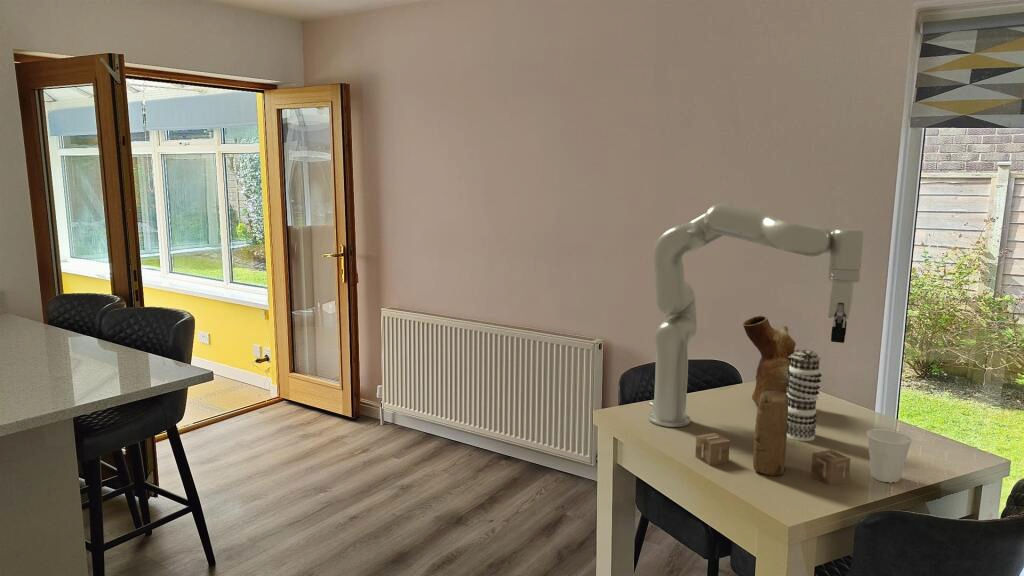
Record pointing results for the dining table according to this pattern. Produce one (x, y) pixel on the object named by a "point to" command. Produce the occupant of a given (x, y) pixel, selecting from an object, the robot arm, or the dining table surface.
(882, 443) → the cup
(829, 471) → the walnut cube
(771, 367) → the ceramic vessel
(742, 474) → the dining table surface
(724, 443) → the walnut cube
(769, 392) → the block
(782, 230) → the robot arm
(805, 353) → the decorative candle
